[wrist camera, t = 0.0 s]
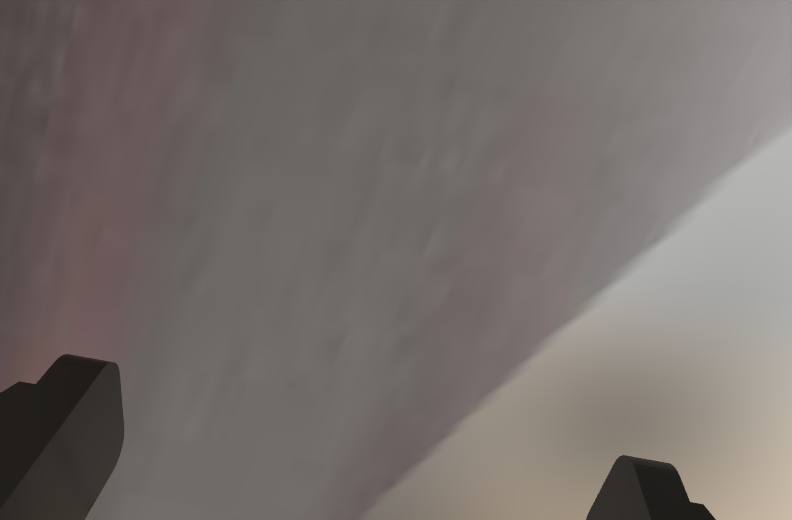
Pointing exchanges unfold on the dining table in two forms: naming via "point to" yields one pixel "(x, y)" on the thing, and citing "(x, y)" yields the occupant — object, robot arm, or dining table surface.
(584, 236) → the dining table surface
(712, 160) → the dining table surface
